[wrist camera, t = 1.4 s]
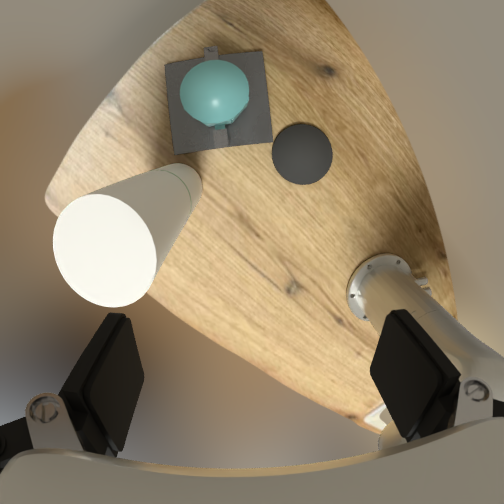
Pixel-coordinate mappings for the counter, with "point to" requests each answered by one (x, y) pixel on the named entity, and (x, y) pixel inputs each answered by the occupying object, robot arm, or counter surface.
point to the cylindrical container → (124, 233)
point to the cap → (215, 93)
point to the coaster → (302, 154)
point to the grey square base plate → (235, 134)
